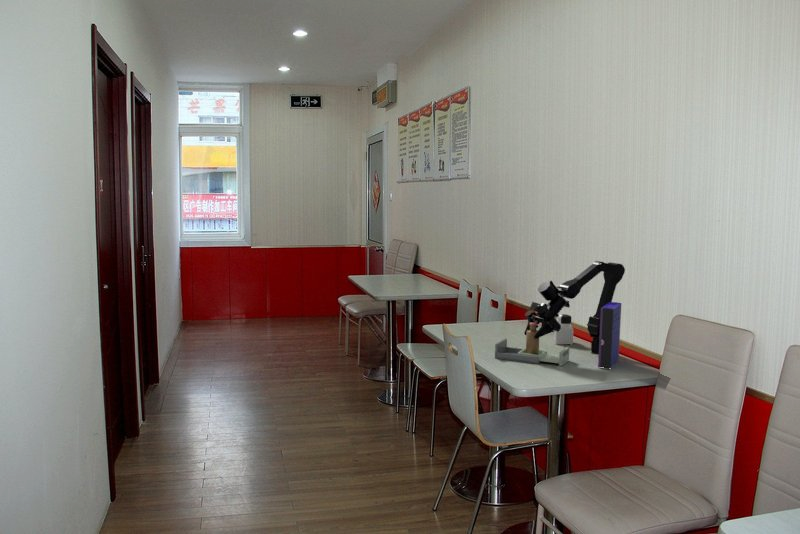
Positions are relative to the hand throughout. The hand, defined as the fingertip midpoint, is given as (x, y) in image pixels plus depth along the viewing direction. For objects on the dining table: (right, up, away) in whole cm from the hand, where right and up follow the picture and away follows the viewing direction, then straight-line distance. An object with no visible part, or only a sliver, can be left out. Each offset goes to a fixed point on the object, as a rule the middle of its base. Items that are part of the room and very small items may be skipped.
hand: (529, 336), depth 279 cm
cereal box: (+31, -11, -4) cm, 33 cm away
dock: (-3, -9, +4) cm, 11 cm away
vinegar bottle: (+1, -8, +1) cm, 8 cm away
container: (+22, -7, +34) cm, 41 cm away
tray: (+5, -10, -1) cm, 11 cm away
